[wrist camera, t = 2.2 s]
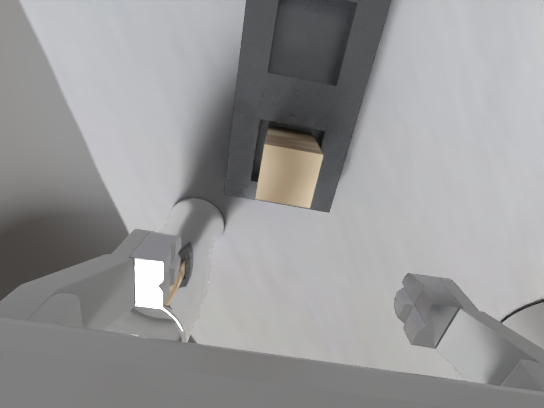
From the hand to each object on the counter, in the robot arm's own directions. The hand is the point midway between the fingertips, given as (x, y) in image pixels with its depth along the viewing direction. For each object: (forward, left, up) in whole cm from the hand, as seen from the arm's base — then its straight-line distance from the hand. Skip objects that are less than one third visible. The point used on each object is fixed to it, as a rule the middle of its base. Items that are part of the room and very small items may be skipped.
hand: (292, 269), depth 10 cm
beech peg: (0, 0, -18) cm, 18 cm away
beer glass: (+8, +10, -20) cm, 23 cm away
